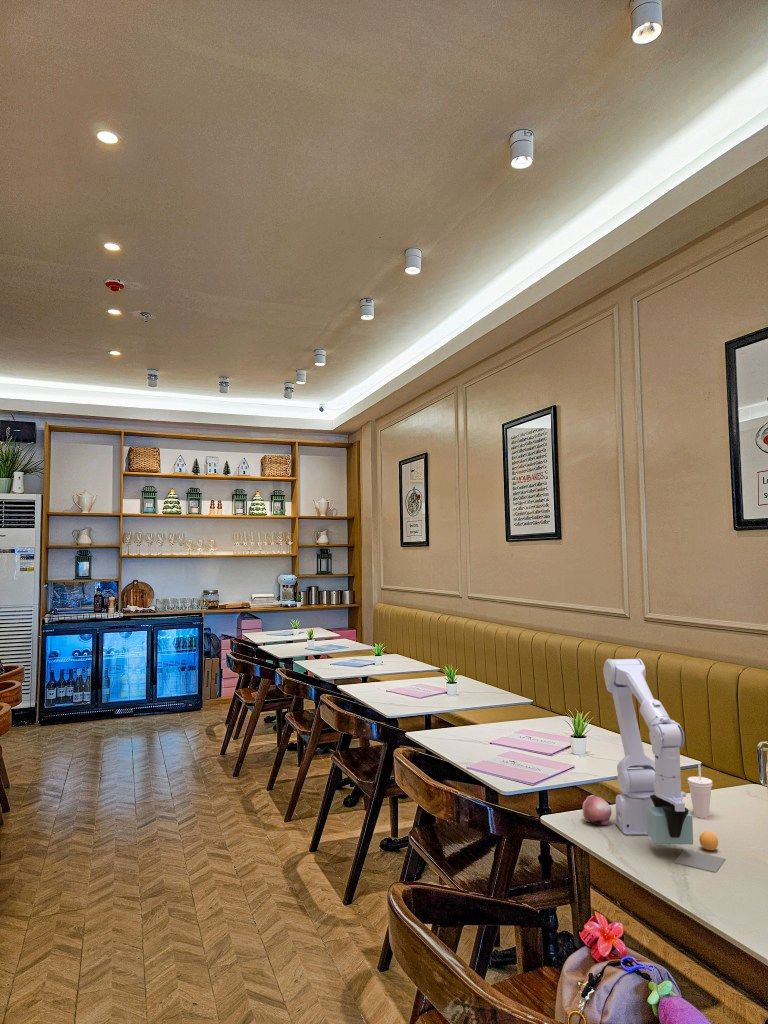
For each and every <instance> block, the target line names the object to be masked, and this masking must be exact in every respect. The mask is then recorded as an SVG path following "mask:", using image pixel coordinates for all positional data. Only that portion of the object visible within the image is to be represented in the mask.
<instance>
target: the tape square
mask: <svg viewBox="0 0 768 1024" xmlns="http://www.w3.org/2000/svg"><path fill="white" fill-rule="evenodd" d="M725 861H726V858H724V857H719V856H716V855H710V854H707V853H702V852H699V851H693V850H690V849H689V850H688V849H683V851H682V852H681V853H680V854H679V856H678V857H677V858H676V859H675V860H674V864H677V865H682V866H686V867H690V868H693V867H694V869H698V870H703V871H705V872H709V873H714V872H716V873H717V872H718V871H719V870H720V869H721V867H722V865H723V864H724V863H725ZM720 866H721V867H720Z"/></svg>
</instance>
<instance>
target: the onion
mask: <svg viewBox="0 0 768 1024" xmlns="http://www.w3.org/2000/svg"><path fill="white" fill-rule="evenodd" d="M582 815H583V818H584V819H585V821H586V822H588V823H590V824H594V825H595V824H596V825H600V826H602V825H603V826H611V825H610V824H611V823H610V818H611V816H612V807H611V804H609V803H608V802H607V801H606V800H605V799H604V798H602V797H601V796H597V795H595V794H591V795H588V796H587V797H586V799H585V800H584V801H583V803H582ZM609 823H610V824H609Z"/></svg>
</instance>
